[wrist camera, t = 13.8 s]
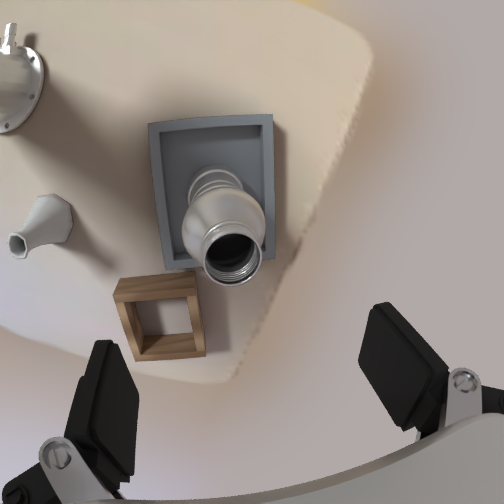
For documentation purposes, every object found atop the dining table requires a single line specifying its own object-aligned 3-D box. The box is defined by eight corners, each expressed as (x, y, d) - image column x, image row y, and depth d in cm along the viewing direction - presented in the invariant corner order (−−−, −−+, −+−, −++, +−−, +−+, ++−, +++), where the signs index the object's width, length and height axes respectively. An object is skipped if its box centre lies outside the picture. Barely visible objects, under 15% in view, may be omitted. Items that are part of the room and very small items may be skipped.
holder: (120, 278, 39) (112, 295, 35) (194, 271, 40) (194, 287, 36) (139, 342, 44) (135, 361, 40) (204, 337, 45) (206, 356, 41)
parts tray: (151, 123, 32) (147, 123, 29) (266, 115, 34) (272, 114, 31) (167, 260, 39) (165, 270, 36) (269, 249, 41) (275, 258, 38)
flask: (34, 188, 31) (-6, 209, 22) (77, 198, 33) (43, 222, 24) (31, 236, 34) (-4, 267, 25) (71, 248, 36) (42, 282, 27)
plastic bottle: (250, 177, 36) (307, 235, 18) (222, 224, 38) (250, 320, 20) (204, 152, 33) (212, 183, 15) (177, 201, 35) (159, 283, 17)
